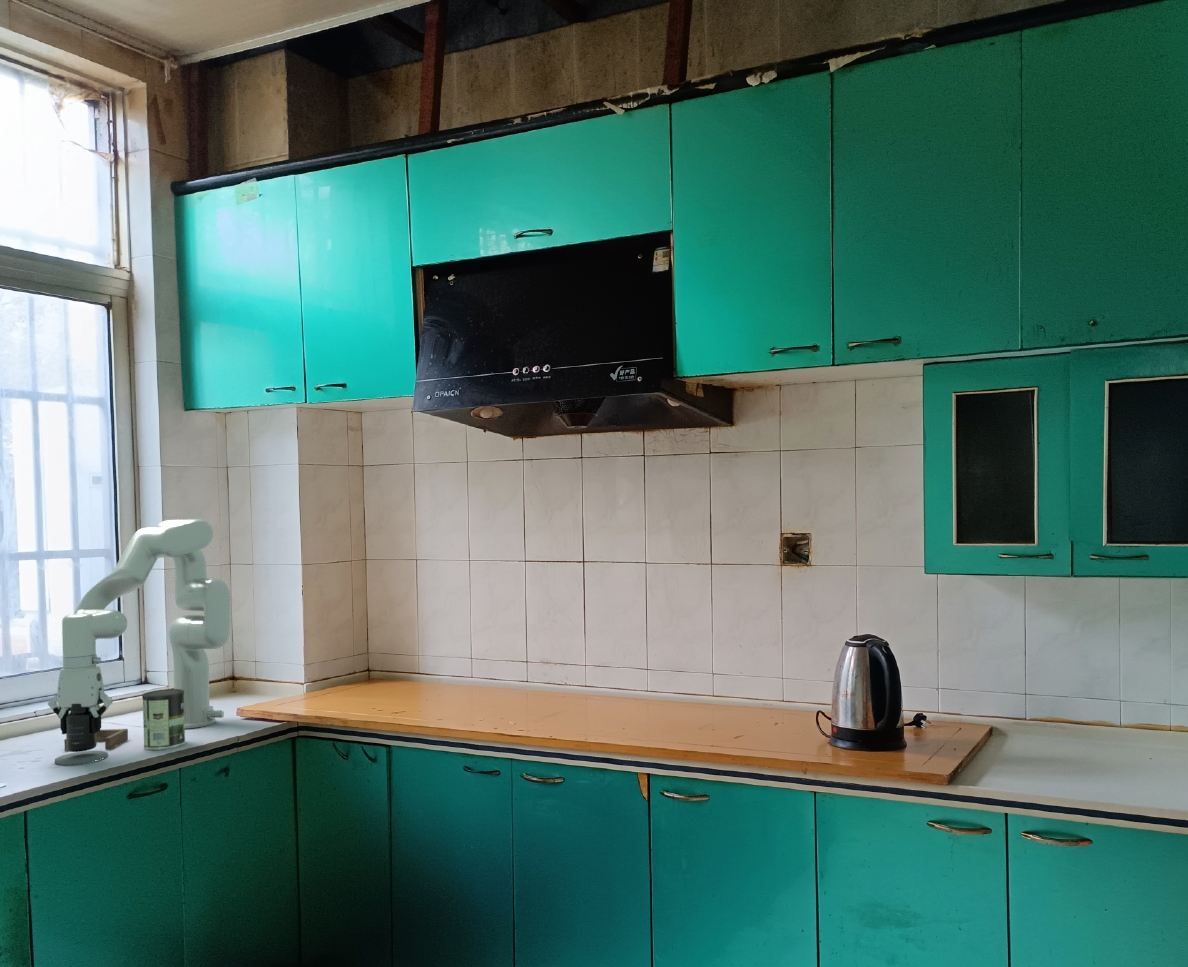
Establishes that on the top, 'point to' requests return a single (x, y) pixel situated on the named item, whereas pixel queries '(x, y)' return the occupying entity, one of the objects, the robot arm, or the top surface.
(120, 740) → the bottle holder
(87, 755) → the rubber mat
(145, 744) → the coffee can
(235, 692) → the top surface
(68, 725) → the supplement bottle
